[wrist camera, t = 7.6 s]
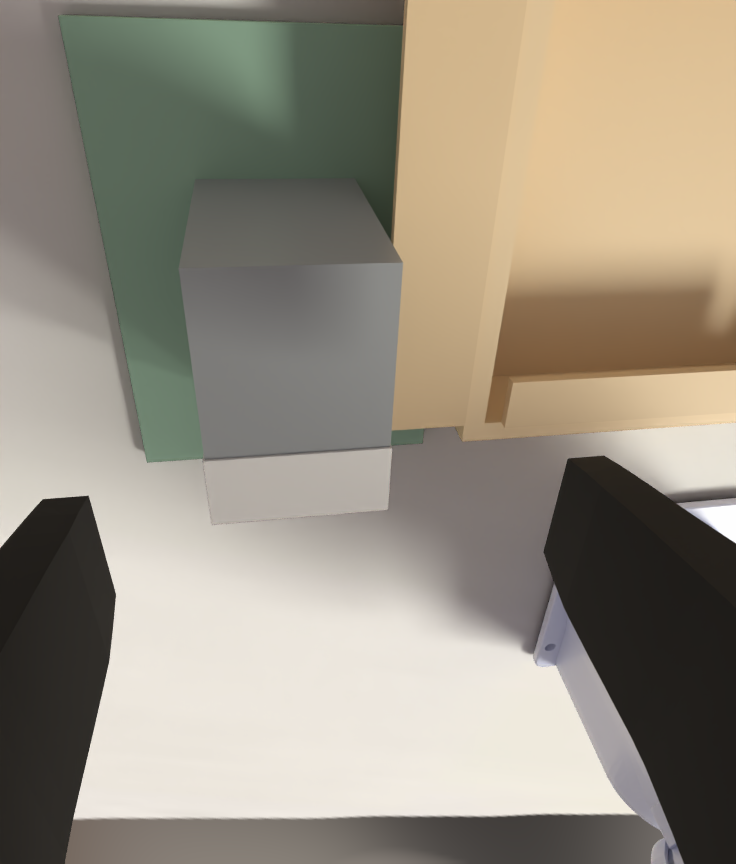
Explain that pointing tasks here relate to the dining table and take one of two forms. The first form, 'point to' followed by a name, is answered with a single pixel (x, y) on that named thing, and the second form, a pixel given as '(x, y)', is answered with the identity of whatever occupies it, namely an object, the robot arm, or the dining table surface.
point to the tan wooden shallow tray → (566, 216)
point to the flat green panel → (215, 159)
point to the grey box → (291, 346)
